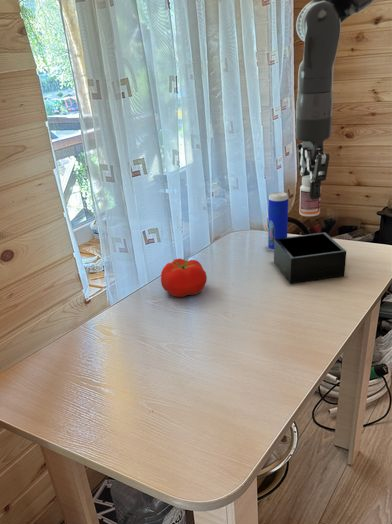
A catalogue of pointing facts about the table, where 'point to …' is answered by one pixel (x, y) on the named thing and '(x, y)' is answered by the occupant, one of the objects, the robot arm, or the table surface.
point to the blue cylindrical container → (277, 217)
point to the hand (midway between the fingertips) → (310, 194)
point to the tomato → (183, 277)
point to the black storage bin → (309, 258)
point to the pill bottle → (308, 199)
